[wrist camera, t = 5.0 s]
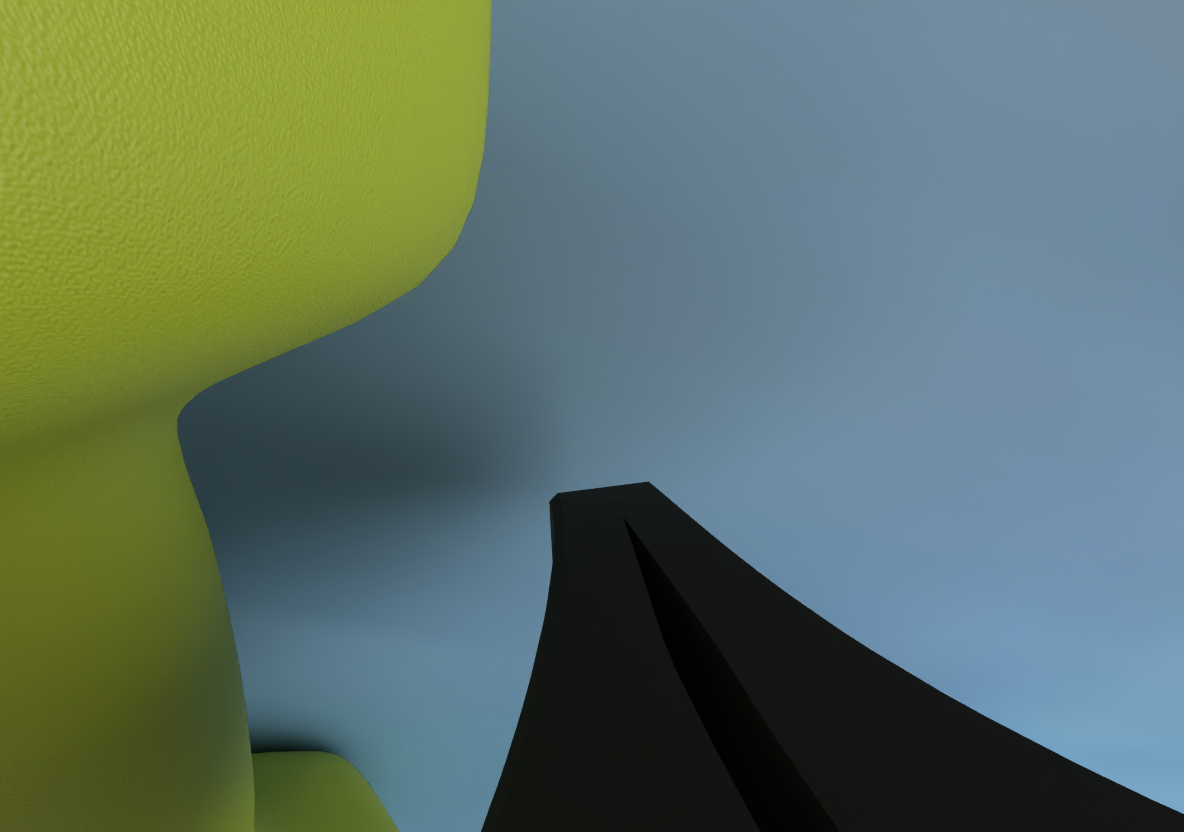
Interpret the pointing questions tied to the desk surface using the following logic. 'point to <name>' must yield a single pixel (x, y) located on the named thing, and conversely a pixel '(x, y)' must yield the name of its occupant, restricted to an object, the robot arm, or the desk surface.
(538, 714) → the robot arm
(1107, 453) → the desk surface
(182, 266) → the dumbbell
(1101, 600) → the desk surface
